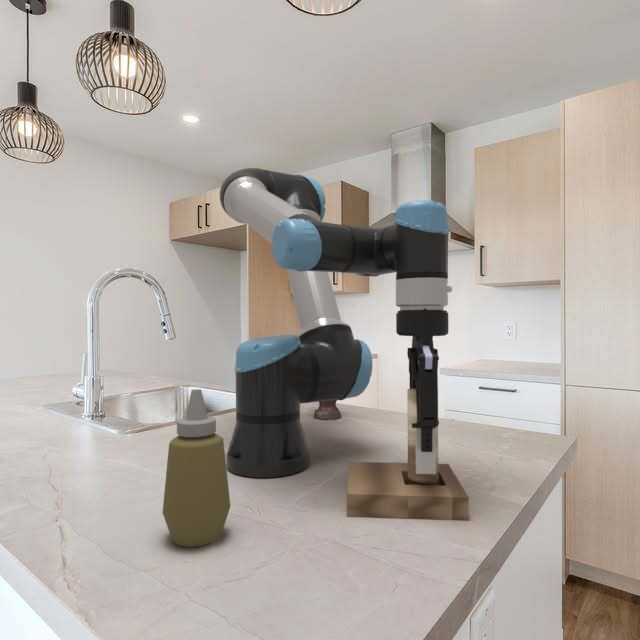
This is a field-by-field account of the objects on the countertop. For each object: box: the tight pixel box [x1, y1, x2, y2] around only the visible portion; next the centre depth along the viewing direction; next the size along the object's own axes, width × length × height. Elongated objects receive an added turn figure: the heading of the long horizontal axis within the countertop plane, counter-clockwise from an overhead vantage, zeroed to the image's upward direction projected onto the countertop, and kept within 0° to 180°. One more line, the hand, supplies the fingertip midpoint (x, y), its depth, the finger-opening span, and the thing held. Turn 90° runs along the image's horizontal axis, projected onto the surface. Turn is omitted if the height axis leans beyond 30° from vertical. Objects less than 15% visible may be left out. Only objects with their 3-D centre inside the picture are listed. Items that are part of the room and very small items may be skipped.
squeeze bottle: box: [162, 388, 231, 548], centre depth 56 cm, size 8×8×18 cm
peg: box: [406, 388, 439, 486], centre depth 68 cm, size 4×4×16 cm
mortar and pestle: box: [313, 400, 342, 421], centre depth 125 cm, size 12×9×20 cm
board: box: [346, 461, 470, 521], centre depth 68 cm, size 16×14×3 cm
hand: (422, 465), depth 68 cm, fingers open, 5 cm apart
